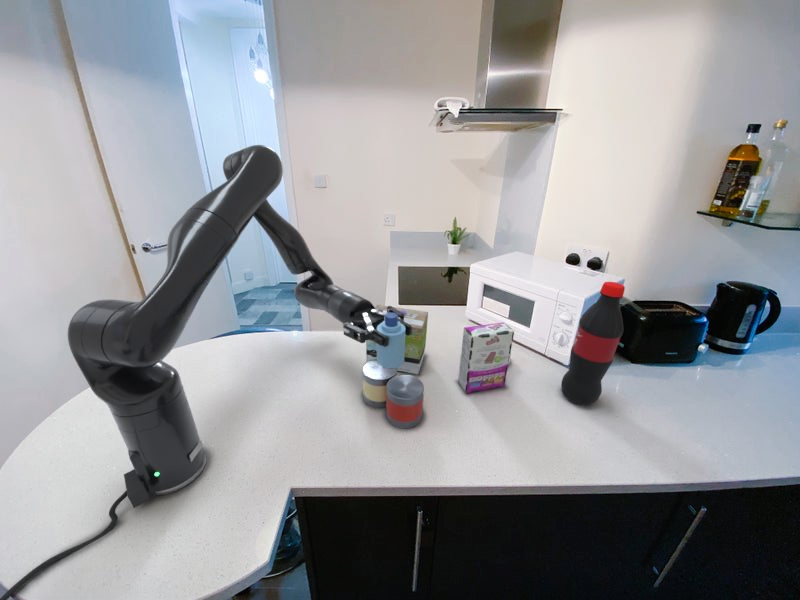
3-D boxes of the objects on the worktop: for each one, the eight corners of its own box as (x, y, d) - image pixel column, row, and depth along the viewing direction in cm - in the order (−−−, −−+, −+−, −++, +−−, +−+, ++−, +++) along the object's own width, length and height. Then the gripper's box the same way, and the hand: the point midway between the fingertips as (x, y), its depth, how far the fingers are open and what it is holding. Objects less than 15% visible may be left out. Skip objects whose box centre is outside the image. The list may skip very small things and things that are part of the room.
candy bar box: (494, 375, 85) (504, 321, 78) (504, 387, 80) (516, 331, 74) (456, 381, 82) (463, 326, 75) (464, 394, 78) (473, 336, 71)
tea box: (365, 366, 87) (364, 319, 81) (376, 347, 96) (376, 303, 90) (419, 375, 84) (422, 327, 78) (425, 355, 93) (428, 310, 87)
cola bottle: (592, 389, 81) (630, 279, 68) (601, 412, 73) (646, 293, 61) (556, 382, 83) (587, 274, 70) (562, 404, 75) (597, 288, 63)
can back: (378, 413, 71) (378, 384, 68) (356, 395, 76) (355, 367, 73) (403, 396, 76) (404, 369, 73) (381, 380, 81) (381, 354, 78)
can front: (403, 434, 66) (405, 405, 62) (378, 413, 71) (378, 385, 68) (429, 415, 71) (431, 387, 68) (404, 397, 76) (405, 369, 73)
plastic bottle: (389, 372, 65) (390, 325, 60) (371, 359, 69) (370, 314, 64) (409, 360, 69) (412, 315, 64) (391, 349, 73) (392, 306, 68)
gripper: (322, 303, 69) (372, 332, 58) (373, 287, 78) (424, 310, 67) (325, 333, 72) (372, 366, 61) (373, 314, 81) (422, 340, 70)
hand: (399, 336), depth 64 cm, fingers closed on plastic bottle, 6 cm apart
